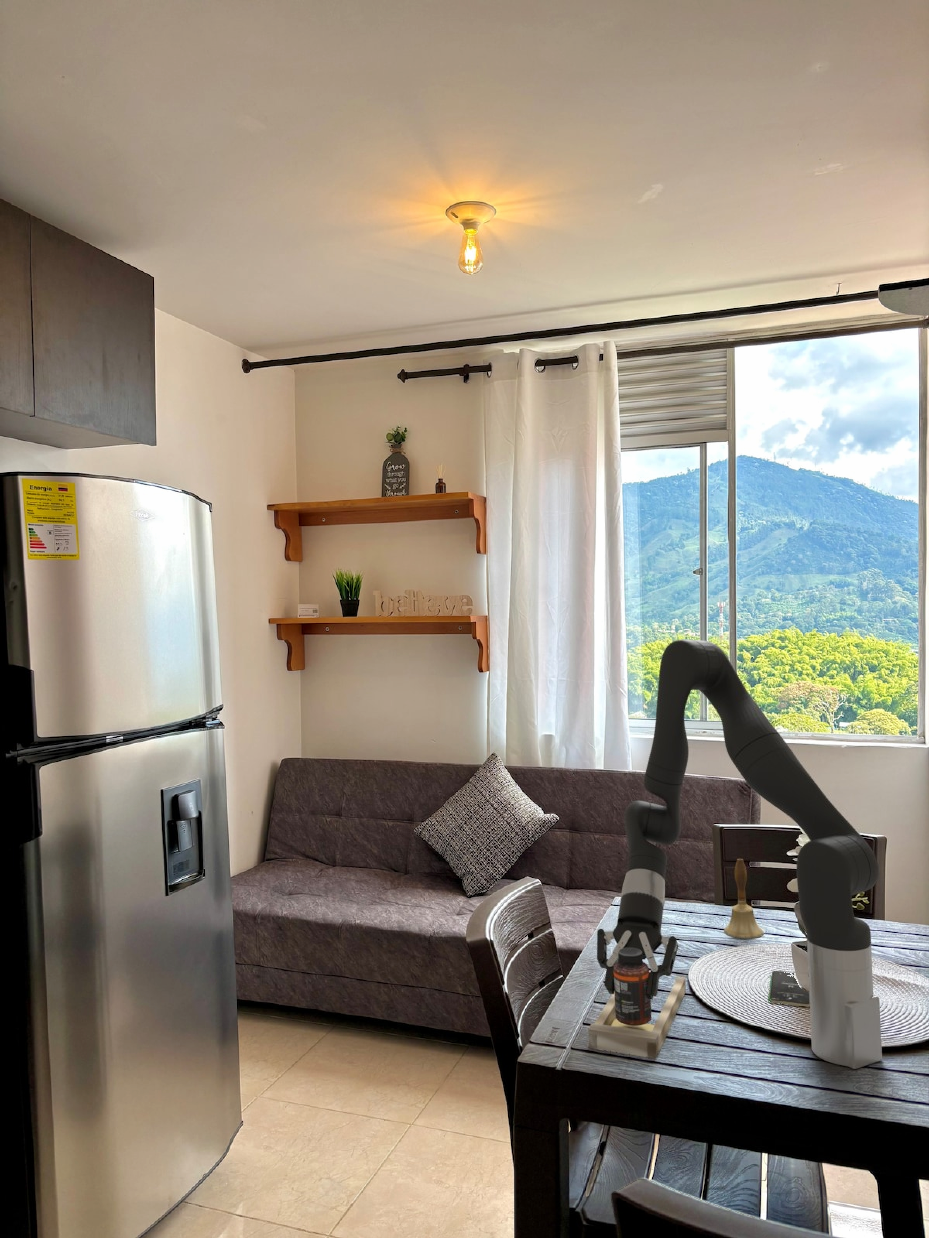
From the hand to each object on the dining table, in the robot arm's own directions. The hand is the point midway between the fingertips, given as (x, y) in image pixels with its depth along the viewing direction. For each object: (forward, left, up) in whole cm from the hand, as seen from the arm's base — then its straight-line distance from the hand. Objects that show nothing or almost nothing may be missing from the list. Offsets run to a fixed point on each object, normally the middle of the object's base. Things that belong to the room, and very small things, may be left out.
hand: (630, 994), depth 144 cm
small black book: (+1, -36, -7) cm, 37 cm away
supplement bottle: (+1, -1, -5) cm, 5 cm away
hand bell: (+29, -51, -7) cm, 59 cm away
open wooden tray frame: (+5, -5, -7) cm, 10 cm away
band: (+1, -1, -7) cm, 7 cm away
